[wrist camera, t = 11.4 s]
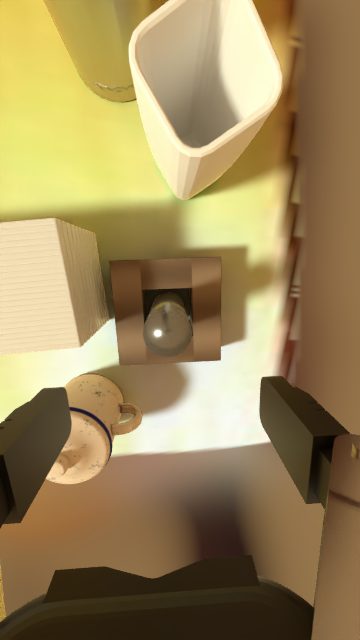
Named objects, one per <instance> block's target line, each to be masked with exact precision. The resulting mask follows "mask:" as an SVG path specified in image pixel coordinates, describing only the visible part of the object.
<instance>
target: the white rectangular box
mask: <svg viewBox="0 0 360 640" xmlns="http://www.w3.org/2000/svg"><path fill="white" fill-rule="evenodd" d="M108 320H109V315H108V309H107V303H106V297H105V291H104V285H103V279H102V273H101V267H100V260H99V254H98V248H97V242H96V236H95V233H93V232H90V231H88V230H86V229H83V228H80V227H77V226H75V225H73V224H69V223H68V222H65V221H63V220H60V219H57V218H45V219H34V220H22V221H11V222H0V355H7V354H17V353H27V352H37V351H47V350H57V349H67V348H77V347H81V346H82V345H83V344H84V343H85V342H87V340H89V339H90V338H91V337H92V336H93V335H94V334H95V333H96V331H98V330H99V329H100V328H101V327H102V326H103V325H104V324H105V323H106V322H107V321H108Z"/></svg>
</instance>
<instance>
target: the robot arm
mask: <svg viewBox="0 0 360 640" xmlns="http://www.w3.org/2000/svg"><path fill="white" fill-rule="evenodd" d="M44 2H45V4H46V6H47V9H48V11H49V13H50V15H51V17H52V19H53V21H54V23H55V25H56V27H57V29H58V31H59V34H60V36H61V38H62V40H63V42H64V44H65V46H66V48H67V50H68V52H69V54H70V56H71V59H72V61H73V63H74V65H75V67H76V69H77V71H78V73H79V75H80V77H81V78H82V80H83V81H84V82H85V84H86V85H87V86H88V87H89V88H90V89H91V90H92V91H93V92H94V93H96V94H97V95H99V96H100V97H102V98H104V99H107V100H110V101H115V102H126V101H131V100H133V99H136V93H135V88H134V83H133V78H132V73H131V68H130V63H129V43H130V40H131V37H132V34H133V31H134V30H135V29H136V28H137V27H138V25H139V24H140V23H141V22H142V21H143V20H144V19H145V18H147V17H148V16H149V15H151V14H152V13H153V12H154V11H156V10H157V9H158V8H160V7H161V2H160V0H44ZM260 419H261V423H262V426H263V428H264V430H265V431H266V433H267V435H268V437H269V439H270V440H271V442H272V443H273V445H274V447H275V449H276V451H277V453H278V455H279V456H280V458H281V460H282V462H283V463H284V465H285V467H286V469H287V471H288V472H289V474H290V476H291V478H292V480H293V481H294V483H295V485H296V487H297V488H298V490H299V492H300V494H301V495H302V497H303V499H304V501H305V503H306V504H312V503H321V504H322V506H323V507H324V509H325V514H324V522H323V530H322V538H321V546H320V555H319V563H318V571H317V579H316V588H315V596H314V604H313V607H312V606H311V605H310V604H309V603H308V602H307V601H305V600H304V599H303V598H301V597H300V596H299V595H297V594H296V593H294V592H293V591H291V590H290V589H288V588H286V587H284V586H282V585H281V584H279V583H277V582H274V581H272V580H270V579H267V578H264V577H261V576H257V574H256V570H255V566H254V562H253V559H252V555H247V556H235V557H222V558H209V559H203V560H200V561H198V562H195V563H193V564H190V565H188V566H186V567H183V568H181V569H178V570H176V571H173V572H171V573H169V574H166V575H164V576H162V577H159V578H154V579H151V578H146V577H142V576H138V575H135V574H131V573H127V572H123V571H120V570H116V569H112V568H108V567H91V568H78V569H66V570H55V573H54V575H53V578H52V581H51V583H50V586H49V589H48V592H47V593H46V594H43V595H41V596H39V597H37V598H35V599H33V600H31V601H29V602H28V603H26V604H25V605H23V606H21V607H20V608H19V609H17V610H15V611H14V612H12V613H11V614H10V615H9V616H7V617H6V614H5V607H4V597H3V586H2V575H1V564H0V640H360V435H355V434H350V433H349V432H348V431H347V430H346V429H345V428H344V427H343V426H342V425H341V424H340V423H339V422H338V421H337V420H335V418H334V417H333V416H331V415H330V414H329V413H328V412H327V411H325V409H324V408H323V407H322V406H321V405H320V404H318V403H317V401H316V400H315V399H314V398H313V397H312V396H310V394H308V393H306V392H304V391H303V390H301V389H299V388H297V387H292V386H291V385H290V384H289V383H288V382H287V381H286V380H285V378H284V377H282V376H270V377H262V379H261V388H260ZM71 427H72V421H71V415H70V409H69V403H68V397H67V392H66V389H65V388H64V387H58V388H43V389H42V390H41V391H40V392H39V393H38V394H37V395H36V396H35V397H34V398H33V399H32V400H31V401H30V402H27V403H25V404H24V405H22V406H20V407H19V408H17V409H15V410H14V411H13V412H12V413H11V414H10V415H9V416H8V417H7V418H6V419H5V421H3V422H1V423H0V528H1V526H2V525H3V524H10V523H21V521H22V519H23V517H24V516H25V514H26V512H27V510H28V509H29V507H30V505H31V503H32V502H33V500H34V498H35V496H36V495H37V493H38V491H39V489H40V488H41V486H42V484H43V482H44V481H45V479H46V477H47V475H48V474H49V472H50V470H51V468H52V467H53V465H54V463H55V461H56V460H57V458H58V456H59V454H60V452H61V451H62V449H63V447H64V445H65V444H66V442H67V440H68V438H69V436H70V433H71Z"/></svg>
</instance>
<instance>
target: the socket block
mask: <svg viewBox="0 0 360 640" xmlns="http://www.w3.org/2000/svg"><path fill="white" fill-rule="evenodd" d="M109 263H110V273H111V283H112V293H113V303H114V313H115V323H116V333H117V343H118V353H119V363H120V365H138V364H158V363H178V362H198V361H218V360H221V257H204V258H176V259H148V260H121V261H109ZM172 288H189V289H190V325H191V328H192V338H191V342H190V344H189V346H188V347H187V348H186V349H185V350H184V351H183V352H182V353H180V354H178V355H176V356H173V357H162V356H159V355H156V354H155V353H153V352H152V351H151V350H149V348H148V347H147V346H146V344H145V342H144V339H143V328H144V325H145V323H146V320H147V307H146V292H145V290H147V289H172Z"/></svg>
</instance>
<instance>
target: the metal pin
mask: <svg viewBox="0 0 360 640" xmlns="http://www.w3.org/2000/svg"><path fill="white" fill-rule="evenodd" d="M191 338H192V328H191V325H190V322H189V319H188V316H187V313H186V310H185V307H184V304H183V302H182V300H181V298H180V297H179V296H178V295H177V294H175V293H172V292H164V293H161V294H160V295H158V296H157V297H156V298H155V300H154V302H153V305H152V307H151V310H150V312H149V315H148V317H147V320H146V323H145V325H144V328H143V339H144V342H145V344H146V346H147V347H148V348H149V350H151V351H152V352H153V353H155V354H156V355H159V356H162V357H173V356H176V355H178V354H180V353H182V352H183V351H184V350H185V349H186V348H187V347H188V346H189V344H190V342H191Z"/></svg>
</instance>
